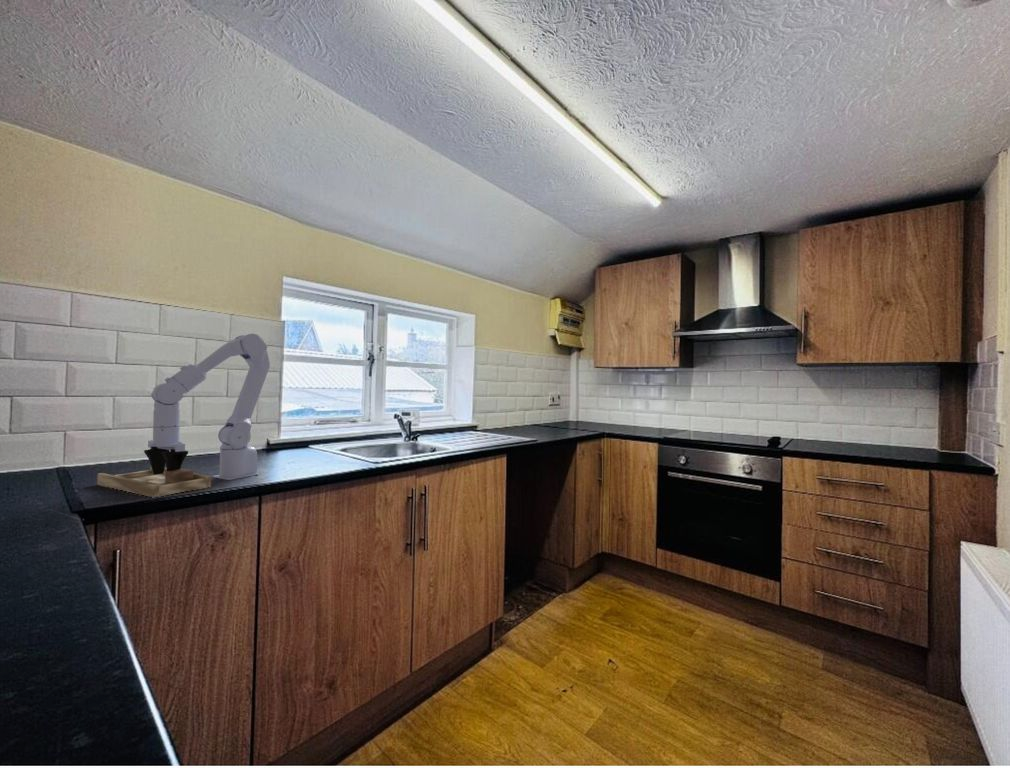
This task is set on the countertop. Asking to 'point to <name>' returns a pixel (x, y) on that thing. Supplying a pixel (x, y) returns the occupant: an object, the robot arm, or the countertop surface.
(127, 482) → the tray
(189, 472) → the block
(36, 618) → the countertop surface
